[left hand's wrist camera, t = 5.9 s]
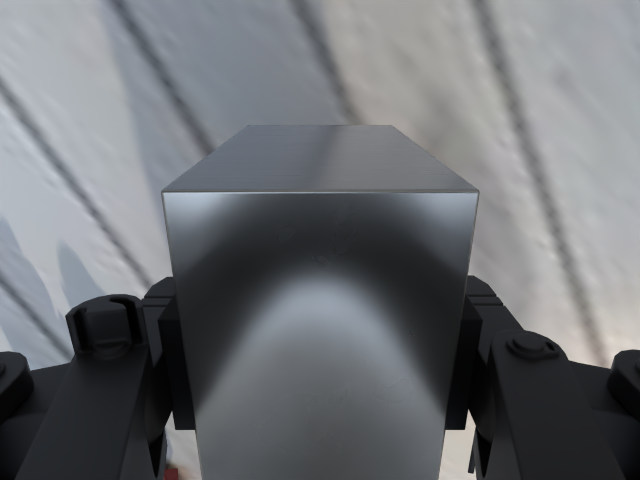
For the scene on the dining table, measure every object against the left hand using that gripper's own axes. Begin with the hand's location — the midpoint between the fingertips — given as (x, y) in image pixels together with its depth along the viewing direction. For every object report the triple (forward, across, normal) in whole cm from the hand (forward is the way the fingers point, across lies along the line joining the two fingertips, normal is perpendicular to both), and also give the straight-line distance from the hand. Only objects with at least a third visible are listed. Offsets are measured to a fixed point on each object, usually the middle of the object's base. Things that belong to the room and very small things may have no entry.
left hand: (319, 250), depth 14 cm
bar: (+1, 0, -9) cm, 9 cm away
